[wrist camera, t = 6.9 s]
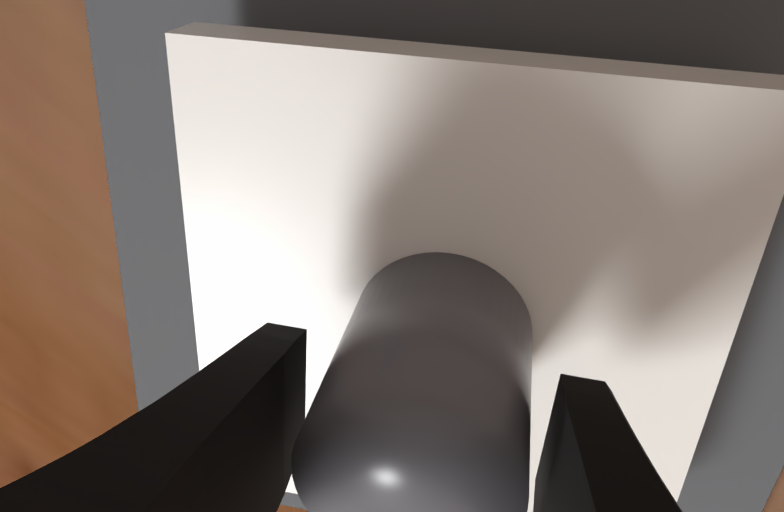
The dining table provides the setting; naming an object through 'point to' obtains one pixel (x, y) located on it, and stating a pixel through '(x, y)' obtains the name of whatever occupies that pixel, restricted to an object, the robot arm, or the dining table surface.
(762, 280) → the mat
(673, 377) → the lid
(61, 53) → the dining table surface
